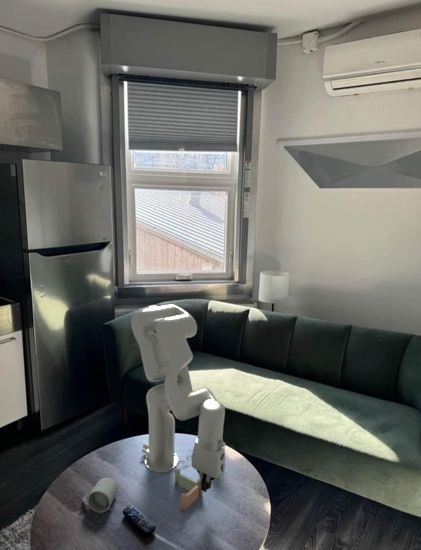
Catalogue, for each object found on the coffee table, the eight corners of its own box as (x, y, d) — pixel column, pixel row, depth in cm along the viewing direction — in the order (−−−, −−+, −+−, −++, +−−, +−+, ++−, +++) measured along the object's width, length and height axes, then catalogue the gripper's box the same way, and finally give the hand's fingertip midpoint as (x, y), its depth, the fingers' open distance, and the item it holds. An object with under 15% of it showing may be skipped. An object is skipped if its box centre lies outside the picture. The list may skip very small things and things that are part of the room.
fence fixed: (173, 484, 140) (174, 470, 139) (176, 481, 141) (176, 467, 140) (195, 494, 135) (195, 480, 134) (198, 491, 137) (198, 477, 136)
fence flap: (199, 491, 137) (199, 477, 136) (203, 494, 136) (203, 480, 135) (179, 510, 129) (179, 495, 128) (183, 513, 128) (183, 498, 127)
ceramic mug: (119, 495, 135) (118, 475, 133) (110, 514, 127) (109, 493, 125) (89, 491, 136) (88, 472, 135) (78, 510, 128) (77, 489, 127)
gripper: (236, 442, 123) (231, 491, 128) (196, 424, 130) (192, 471, 135) (225, 456, 116) (219, 507, 121) (182, 436, 124) (179, 485, 129)
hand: (205, 488), depth 128 cm, fingers closed
